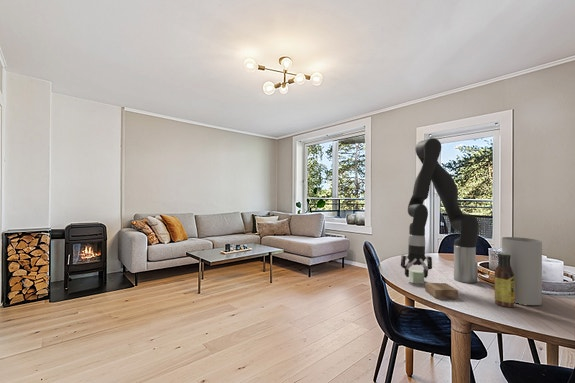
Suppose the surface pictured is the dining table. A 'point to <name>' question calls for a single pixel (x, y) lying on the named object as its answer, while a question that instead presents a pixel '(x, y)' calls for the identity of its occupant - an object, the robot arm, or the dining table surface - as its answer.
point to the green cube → (416, 276)
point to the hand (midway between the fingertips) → (416, 277)
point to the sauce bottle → (504, 282)
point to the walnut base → (441, 291)
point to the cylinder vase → (525, 268)
